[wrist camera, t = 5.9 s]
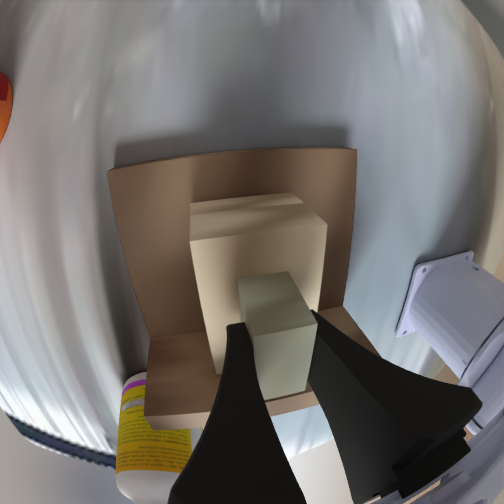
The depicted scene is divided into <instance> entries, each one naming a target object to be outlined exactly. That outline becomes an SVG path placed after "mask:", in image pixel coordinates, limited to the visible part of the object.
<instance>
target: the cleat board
mask: <svg viewBox="0 0 504 504" xmlns="http://www.w3.org/2000/svg"><path fill="white" fill-rule="evenodd" d="M356 169H357V149H352V148H347V147H282V148H260V149H245V150H232V151H221V152H211V153H202V154H194V155H186V156H179V157H172V158H165V159H159V160H153V161H147V162H141V163H136V164H131V165H125V166H120V167H116V168H112V169H111V170H109V171H107V176H108V182H109V188H110V193H111V199H112V204H113V209H114V214H115V218H116V223H117V228H118V232H119V236H120V240H121V244H122V248H123V252H124V256H125V260H126V263H127V267H128V271H129V274H130V277H131V281H132V284H133V287H134V291H135V294H136V297H137V300H138V303H139V306H140V309H141V312H142V315H143V318H144V321H145V324H146V326H147V329H148V332H149V335H150V337H151V338H150V346H149V355H148V365H147V375H146V387H145V400H144V418H145V419H146V420H147V422H148V423H149V425H150V426H151V427H152V429H153V430H176V429H190V428H201V427H205V425H206V422H207V420H208V417H209V415H210V412H211V409H212V406H213V404H214V400H215V397H216V394H217V391H218V387H219V383H220V379H221V375H222V374H216V370H215V366H214V362H213V358H212V353H211V349H210V344H209V340H208V336H207V331H206V326H205V322H204V317H203V312H202V307H201V302H200V297H199V292H198V287H197V281H196V276H195V270H194V265H193V259H192V253H191V247H190V203H196V202H204V201H212V200H220V199H229V198H238V197H248V196H258V195H268V194H280V193H293V194H295V195H296V196H297V197H298V198H299V199H300V200H301V201H302V202H304V203H305V204H306V205H307V206H308V207H309V208H310V209H311V210H312V211H314V212H315V213H316V214H317V215H318V216H319V217H320V218H321V219H322V220H323V221H324V222H326V223H327V235H326V246H325V255H324V264H323V273H322V281H321V289H320V296H319V303H318V310H317V313H318V314H319V315H321V316H322V317H323V318H324V319H326V320H327V321H328V322H330V323H331V324H332V325H333V326H335V327H336V328H337V329H339V330H340V331H341V332H343V333H344V334H345V335H347V336H348V337H350V338H351V339H352V340H354V341H355V342H357V343H358V344H360V345H361V346H363V347H364V348H366V349H368V350H369V351H371V352H372V353H374V354H376V355H378V356H379V357H381V356H380V355H379V353H378V352H377V351H376V349H375V348H374V346H373V345H372V344H371V342H370V341H369V340H368V338H367V337H366V336H365V334H364V333H363V332H362V330H361V329H360V328H359V326H358V325H357V324H356V322H355V321H354V320H353V319H352V317H351V316H350V315H349V313H348V312H347V311H346V309H345V308H344V307H343V300H344V294H345V288H346V281H347V274H348V266H349V258H350V250H351V241H352V231H353V220H354V207H355V191H356ZM381 358H382V357H381ZM264 401H265V404H266V407H267V409H268V412H269V415H270V416H275V415H280V414H284V413H288V412H292V411H296V410H300V409H304V408H307V407H311V406H314V405H318V404H319V402H318V400H317V398H316V396H315V394H314V392H313V390H312V388H311V386H310V384H309V382H308V380H307V383H306V388H305V391H301V392H298V393H294V394H289V395H285V396H281V397H276V398H272V399H267V400H264Z"/></svg>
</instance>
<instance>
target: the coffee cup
mask: <svg viewBox="0 0 504 504" xmlns="http://www.w3.org/2000/svg"><path fill="white" fill-rule="evenodd" d="M12 102H13V95H12V87H11V84H10V81H9V79H8V78H7V76H6V75H5V74H3V73H2V72H0V142H1V141H2V139H3V137H4V135H5V132H6V130H7V127H8V124H9V120H10V116H11V111H12Z"/></svg>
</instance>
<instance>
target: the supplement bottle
mask: <svg viewBox="0 0 504 504" xmlns="http://www.w3.org/2000/svg"><path fill="white" fill-rule="evenodd" d="M146 375H147V372H142V373H139V374H136V375H134V376H132V377H131V378H129V379H128V380H127V381H126V383H125V384H124V387H123V392H122V399H121V407H120V416H119V427H118V441H117V457H116V484H117V487H118V489H119V490H120V492H121V493H122V494H123V495H125V496H126V497H128V498H129V499H131V500H132V501H133V504H167V503H168V498H169V494H170V490H171V487H172V486H173V484H174V483H175V481H176V480H177V478H178V476H179V475H180V473H181V472H182V470H183V468H184V467H185V465H186V463H187V462H188V460H189V458H190V456H191V454H192V452H193V450H194V448H195V446H196V444H197V443H198V441H199V439H200V436H201V434H202V432H203V427H201V428H190V429H176V430H153V429H152V427H151V426H150V425H149V423H148V422H147V420H146V419H145V418H144V400H145V387H146Z"/></svg>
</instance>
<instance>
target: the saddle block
mask: <svg viewBox="0 0 504 504" xmlns="http://www.w3.org/2000/svg"><path fill="white" fill-rule="evenodd" d="M326 235H327V223H326V222H324V221H323V220H322V219H321V218H320V217H319V216H318V215H317V214H316V213H315V212H314V211H312V210H311V209H310V208H309V207H308V206H307V205H306V204H305V203H304V202H302V201H301V200H300V199H299V198H298V197H297V196H296V195H295V194H293V193H280V194H268V195H258V196H248V197H238V198H229V199H220V200H212V201H204V202H196V203H190V247H191V253H192V259H193V265H194V270H195V276H196V281H197V287H198V292H199V297H200V302H201V307H202V312H203V317H204V322H205V326H206V331H207V336H208V340H209V344H210V349H211V353H212V358H213V362H214V366H215V370H216V374H222V370H223V365H224V359H225V353H226V343H227V331H226V327H227V326H228V325H229V324H235V323H241V322H245V324H246V327H247V329H248V332H249V335H250V338H251V344H252V350H253V355H254V361H255V366H256V372H257V377H258V381H259V386H260V389H261V392H262V395H263V398H264V400H267V399H272V398H276V397H281V396H285V395H289V394H294V393H298V392H301V391H305V388H306V383H307V378H308V374H309V369H310V364H311V359H312V353H313V348H314V342H315V337H316V331H317V325H318V323H317V321H316V320H315V318H314V316H313V314H312V312H311V311H310V310H311V309H313V310H314V311H315V312H317V310H318V303H319V296H320V289H321V281H322V273H323V264H324V255H325V246H326Z"/></svg>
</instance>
